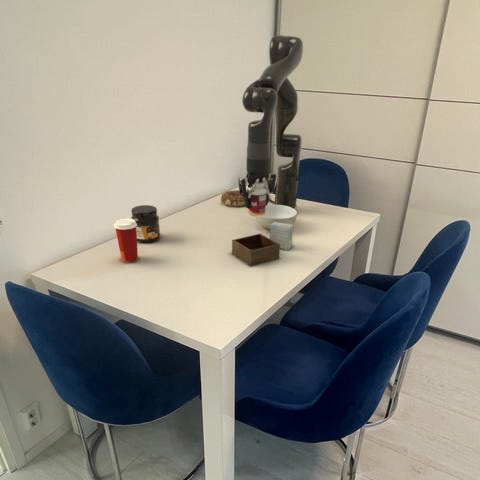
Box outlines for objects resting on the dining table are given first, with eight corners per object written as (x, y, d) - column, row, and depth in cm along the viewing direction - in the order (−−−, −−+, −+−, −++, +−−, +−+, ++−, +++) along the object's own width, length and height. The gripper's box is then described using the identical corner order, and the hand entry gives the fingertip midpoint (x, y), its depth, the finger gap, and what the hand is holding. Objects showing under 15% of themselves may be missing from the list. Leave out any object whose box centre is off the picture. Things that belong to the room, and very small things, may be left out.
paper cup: (144, 256, 165) (140, 219, 158) (133, 265, 159) (129, 226, 151) (125, 253, 167) (120, 216, 160) (114, 262, 161) (108, 223, 154)
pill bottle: (243, 213, 159) (244, 181, 153) (257, 209, 162) (258, 178, 156) (255, 218, 155) (256, 185, 149) (269, 214, 158) (270, 182, 152)
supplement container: (136, 245, 174) (132, 214, 168) (131, 235, 182) (127, 206, 176) (163, 241, 177) (160, 211, 171) (157, 232, 186) (154, 203, 179)
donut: (239, 209, 211) (239, 199, 208) (215, 204, 217) (215, 193, 214) (255, 201, 221) (256, 191, 218) (232, 196, 227) (232, 186, 225)
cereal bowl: (249, 230, 188) (250, 214, 184) (263, 218, 201) (263, 202, 197) (289, 237, 183) (290, 220, 179) (300, 223, 196) (301, 207, 192)
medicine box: (292, 246, 175) (293, 224, 170) (288, 250, 171) (289, 228, 167) (272, 242, 178) (274, 221, 173) (268, 246, 174) (269, 225, 170)
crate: (231, 253, 168) (232, 239, 165) (259, 247, 174) (260, 233, 171) (250, 266, 159) (251, 251, 156) (279, 258, 165) (280, 244, 162)
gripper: (269, 151, 154) (267, 200, 163) (233, 156, 148) (233, 207, 157) (282, 155, 149) (279, 206, 158) (246, 160, 142) (245, 213, 151)
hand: (256, 206), depth 157 cm, fingers closed on pill bottle, 6 cm apart
